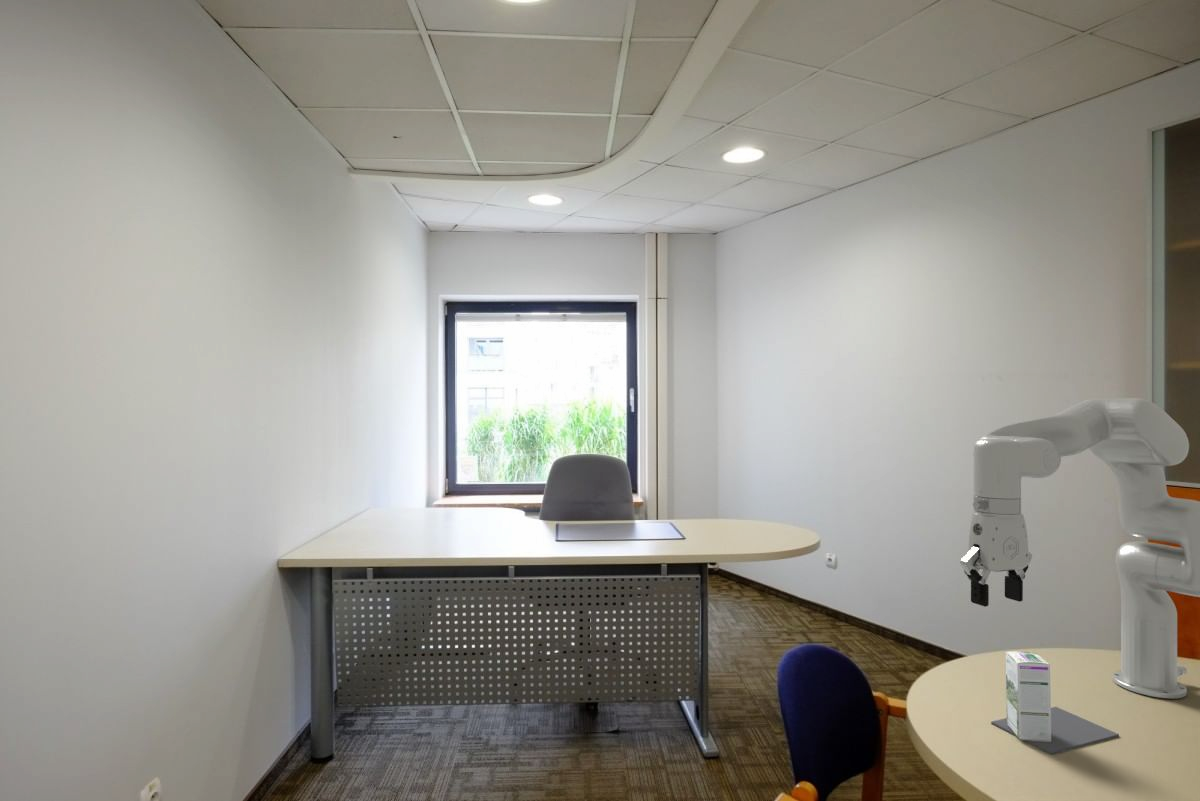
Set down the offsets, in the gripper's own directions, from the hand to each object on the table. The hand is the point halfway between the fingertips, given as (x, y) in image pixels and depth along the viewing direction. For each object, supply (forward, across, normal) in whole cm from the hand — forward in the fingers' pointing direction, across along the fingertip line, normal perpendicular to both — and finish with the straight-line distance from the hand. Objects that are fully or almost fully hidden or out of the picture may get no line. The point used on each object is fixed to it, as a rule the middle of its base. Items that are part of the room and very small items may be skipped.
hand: (996, 601), depth 123 cm
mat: (+26, +15, 0) cm, 30 cm away
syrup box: (+26, +8, 0) cm, 27 cm away
